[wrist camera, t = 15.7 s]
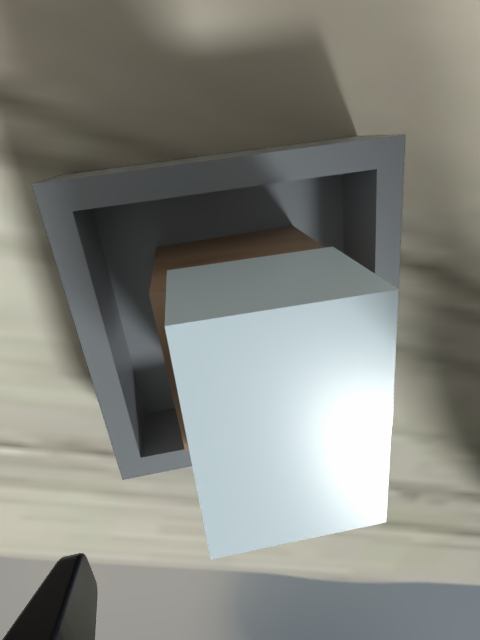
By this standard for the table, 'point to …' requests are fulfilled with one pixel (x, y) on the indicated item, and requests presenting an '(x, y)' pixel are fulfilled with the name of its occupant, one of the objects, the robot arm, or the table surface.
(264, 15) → the table surface
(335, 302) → the pale blue carton
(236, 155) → the charcoal tote
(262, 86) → the table surface
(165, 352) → the walnut block
